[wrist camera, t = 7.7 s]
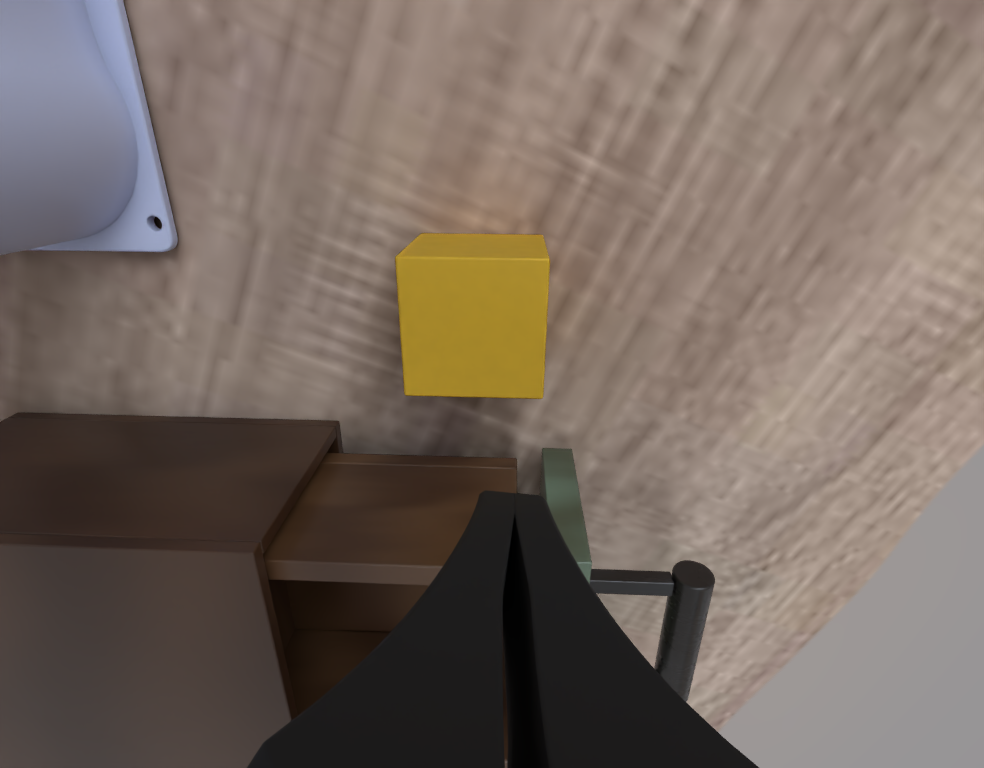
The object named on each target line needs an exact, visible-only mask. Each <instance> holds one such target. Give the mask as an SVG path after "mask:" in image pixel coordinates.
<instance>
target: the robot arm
mask: <svg viewBox="0 0 984 768" xmlns="http://www.w3.org/2000/svg"><path fill="white" fill-rule="evenodd" d="M155 216H156V217H158V218H159V219H160V221H161V223H162V228H161V229H159V228H158V227H157V226H156V225H155V223H154V218H155ZM177 243H178V237H177V232H176V228H175V224H174V219H173V215H172V211H171V206H170V202H169V197H168V193H167V189H166V184H165V180H164V176H163V171H162V167H161V163H160V158H159V154H158V149H157V145H156V141H155V136H154V132H153V128H152V123H151V119H150V115H149V110H148V106H147V102H146V97H145V93H144V88H143V84H142V80H141V75H140V71H139V67H138V62H137V58H136V54H135V49H134V45H133V40H132V36H131V32H130V27H129V23H128V19H127V14H126V10H125V6H124V1H123V0H0V255H5V254H9V253H14V252H19V251H24V250H49V251H122V252H165V251H169V250H172V249H174V248H175V247H176V245H177ZM502 629H503V644H502ZM503 645H504V664H505V682H506V701H507V719H508V758H507V768H759V767H758V766H756V765H755V764H754V763H753V762H752V761H750V760H749V759H748V758H747V757H746V756H744V755H743V754H742V753H741V752H740V751H738V750H737V749H736V748H735V747H733V746H732V745H731V744H730V743H729V742H728V741H727V740H726V739H724V738H723V737H722V736H721V735H720V734H719V733H718V732H717V731H716V730H715V729H714V728H713V727H712V726H710V725H709V724H708V723H707V722H706V721H705V720H704V719H703V718H702V717H701V716H700V715H699V714H698V713H697V712H696V711H694V710H693V709H692V708H691V707H690V706H689V705H688V704H687V703H686V702H685V701H684V700H683V699H682V697H681V696H680V695H679V694H678V693H677V692H676V691H675V690H674V689H673V688H672V687H671V686H670V685H669V684H668V683H667V682H666V681H665V680H664V678H663V677H662V676H661V675H660V674H659V673H658V672H657V671H656V670H655V669H654V668H653V667H652V666H651V665H650V663H649V662H648V661H647V660H646V659H645V658H644V656H643V655H642V654H641V653H640V652H639V650H638V649H637V648H636V647H635V646H634V644H633V643H632V642H631V641H630V640H629V638H628V637H627V636H626V634H625V633H624V632H623V631H622V629H621V628H620V627H619V626H618V624H617V623H616V622H615V620H614V619H613V617H612V616H611V615H610V613H609V612H608V611H607V609H606V608H605V606H604V605H603V603H602V602H601V601H600V599H599V597H598V596H597V594H596V593H595V591H594V590H593V588H592V587H591V585H590V584H589V582H588V581H587V579H586V577H585V576H584V574H583V573H582V571H581V569H580V568H579V566H578V564H577V562H576V561H575V559H574V557H573V555H572V554H571V552H570V550H569V548H568V546H567V545H566V543H565V541H564V539H563V537H562V535H561V533H560V531H559V529H558V527H557V525H556V523H555V520H554V518H553V516H552V514H551V511H550V509H549V506H548V504H547V501H546V500H545V499H544V497H543V496H540V495H529V494H519V493H509V492H499V491H488V490H485V491H483V492H482V493H480V494H479V498H478V502H477V504H476V507H475V510H474V512H473V515H472V517H471V519H470V521H469V523H468V525H467V527H466V529H465V531H464V533H463V534H462V536H461V538H460V540H459V541H458V543H457V545H456V546H455V548H454V550H453V552H452V553H451V555H450V556H449V558H448V559H447V561H446V562H445V564H444V565H443V567H442V568H441V570H440V571H439V573H438V574H437V576H436V577H435V578H434V580H433V581H432V583H431V584H430V585H429V587H428V588H427V589H426V591H425V592H424V593H423V595H422V596H421V597H420V598H419V600H418V601H417V602H416V603H415V605H414V606H413V607H412V608H411V609H410V611H409V612H408V613H407V614H406V615H405V617H404V618H403V619H402V620H401V621H400V622H399V623H398V624H397V625H396V626H395V628H394V629H393V630H392V631H391V632H390V633H389V634H388V635H387V636H386V637H385V638H384V639H383V641H382V642H381V643H380V644H379V645H378V646H377V647H376V648H375V649H374V650H373V651H372V652H371V653H370V654H369V655H368V656H367V657H366V658H365V659H363V660H362V661H361V662H360V663H359V664H358V665H357V666H356V667H355V668H353V669H352V670H351V671H350V672H349V673H348V674H347V675H346V676H345V677H344V678H342V679H341V680H340V681H339V682H338V683H337V684H336V685H335V686H334V687H333V688H331V689H330V690H329V691H328V692H327V693H326V694H324V695H323V696H322V697H321V698H320V699H319V700H317V701H316V702H315V703H314V704H312V705H311V706H310V707H308V708H307V709H306V710H304V711H303V712H302V713H301V714H299V715H298V716H297V717H295V718H294V719H293V720H292V721H290V722H289V723H288V724H286V725H285V726H284V727H283V728H281V729H280V730H279V731H277V732H276V733H275V734H274V735H272V736H271V737H270V738H268V739H267V740H266V741H265V742H263V744H262V745H261V747H260V748H259V750H258V751H257V753H256V754H255V756H254V757H253V759H252V761H251V762H250V764H249V765H248V767H247V768H505V758H504V726H503Z"/></svg>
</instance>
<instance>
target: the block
mask: <svg viewBox="0 0 984 768" xmlns="http://www.w3.org/2000/svg"><path fill="white" fill-rule="evenodd" d="M395 264H396V279H397V294H398V308H399V323H400V337H401V352H402V367H403V381H404V394H405V395H406V396H442V397H484V398H526V399H542V398H543V392H544V372H545V351H546V331H547V311H548V290H549V270H550V259H549V255H548V252H547V248H546V245H545V241H544V237H543V235H524V234H442V233H422V234H420V235H419V236H418V237H417V238H416V239H414V240H413V241H412V242H411V243H410V244H409V245H408V246H407V247H406V248H405V249H403V250H402V251H401V252H400V253H399V254H398V255H397V256H396V257H395Z"/></svg>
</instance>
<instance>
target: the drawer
mask: <svg viewBox="0 0 984 768" xmlns="http://www.w3.org/2000/svg"><path fill="white" fill-rule="evenodd" d="M485 490H488V491H499V492H509V493H517V459H515V458H488V457H453V456H417V455H381V454H346V453H326V454H325V456H324V457H323V459H322V461H321V462H320V464H319V466H318V467H317V469H316V470H315V472H314V474H313V475H312V477H311V478H310V480H309V482H308V483H307V485H306V486H305V488H304V490H303V491H302V493H301V494H300V496H299V498H298V499H297V501H296V502H295V504H294V506H293V507H292V509H291V511H290V512H289V514H288V515H287V517H286V519H285V520H284V522H283V523H282V525H281V527H280V528H279V530H278V531H277V533H276V535H275V536H274V538H273V539H272V541H271V543H270V544H269V546H268V547H267V549H266V551H265V552H264V553H263V558H264V562H265V567H266V571H267V576H268V581H269V585H270V590H271V594H272V599H273V604H274V608H275V613H276V617H277V622H278V627H279V631H280V636H281V640H282V645H283V650H284V654H285V659H286V663H287V668H288V673H289V677H290V682H291V686H292V691H293V696H294V700H295V705H296V709H297V714H298V715H299V714H301V713H302V712H303V711H304V710H306V709H307V708H308V707H310V706H311V705H312V704H314V703H315V702H316V701H317V700H319V699H320V698H321V697H322V696H323V695H324V694H326V693H327V692H328V691H329V690H330V689H331V688H333V687H334V686H335V685H336V684H337V683H338V682H339V681H340V680H341V679H342V678H344V677H345V676H346V675H347V674H348V673H349V672H350V671H351V670H352V669H353V668H355V667H356V666H357V665H358V664H359V663H360V662H361V661H362V660H363V659H365V658H366V657H367V656H368V655H369V654H370V653H371V652H372V651H373V650H374V649H375V648H376V647H377V646H378V645H379V644H380V643H381V642H382V641H383V639H384V638H385V637H386V636H387V635H388V634H389V633H390V632H391V631H392V630H393V629H394V628H395V626H396V625H397V624H398V623H399V622H400V621H401V620H402V619H403V618H404V617H405V615H406V614H407V613H408V612H409V611H410V609H411V608H412V607H413V606H414V605H415V603H416V602H417V601H418V600H419V598H420V597H421V596H422V595H423V593H424V592H425V591H426V589H427V588H428V587H429V585H430V584H431V583H432V581H433V580H434V578H435V577H436V576H437V574H438V573H439V571H440V570H441V568H442V567H443V565H444V564H445V562H446V561H447V559H448V558H449V556H450V555H451V553H452V552H453V550H454V548H455V546H456V545H457V543H458V541H459V540H460V538H461V536H462V534H463V533H464V531H465V529H466V527H467V525H468V523H469V521H470V519H471V517H472V515H473V512H474V510H475V507H476V504H477V502H478V498H479V494H480V493H482V492H483V491H485ZM540 496H543V497H544V499H545V500H546V501H547V504H548V506H549V509H550V511H551V514H552V516H553V518H554V520H555V523H556V525H557V527H558V529H559V531H560V533H561V535H562V537H563V539H564V541H565V543H566V545H567V546H568V548H569V550H570V552H571V554H572V555H573V557H574V559H575V561H576V562H577V564H578V566H579V568H580V569H581V571H582V573H583V574H584V576H585V577H586V579H587V581H588V582H589V584H590V585H591V587H592V588H593V590H594V591H595V593H603V594H629V595H656V596H668V597H667V602H666V608H665V613H664V619H663V624H662V629H661V635H660V640H659V645H658V651H657V656H656V662H655V667H654V669H655V670H656V671H657V672H658V673H659V674H660V675H661V676H662V677H663V678H664V680H665V681H666V682H667V683H668V684H669V685H670V686H671V687H672V688H673V689H674V690H675V691H676V692H677V693H678V694H679V695H680V696H681V697H682V699H683V700H684V701H685V702H686V701H687V700H688V696H689V692H690V688H691V683H692V679H693V675H694V670H695V666H696V662H697V657H698V653H699V649H700V644H701V640H702V635H703V631H704V627H705V622H706V618H707V614H708V609H709V605H710V601H711V596H712V592H713V588H714V583H715V578H714V575H713V573H712V572H711V571H710V569H708V568H707V567H706V566H704V565H703V564H701V563H698V562H695V561H689V560H685V561H680V562H678V563H677V564H676V565H675V566H674V567H673V570H672V575H671V573H670V572H662V571H634V570H606V569H591V566H592V561H591V556H590V550H589V545H588V539H587V533H586V528H585V522H584V516H583V511H582V505H581V499H580V494H579V488H578V482H577V477H576V471H575V465H574V460H573V454H572V449H555V448H543V449H542V461H541V481H540ZM502 644H503V629H502ZM503 726H504V758H505V768H507V758H508V719H507V701H506V682H505V664H504V645H503Z"/></svg>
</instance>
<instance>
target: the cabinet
mask: <svg viewBox="0 0 984 768" xmlns="http://www.w3.org/2000/svg"><path fill="white" fill-rule="evenodd" d="M326 453H343V449H342V441H341V433H340V425H339V421H321V420H282V419H243V418H204V417H165V416H126V415H88V414H49V413H16V414H14V415H12V416H10V417H9V418H7V419H5V420H3V421H1V422H0V768H247V767H248V765H249V764H250V762H251V761H252V759H253V757H254V756H255V754H256V753H257V751H258V750H259V748H260V747H261V745H262V744H263V742H265V741H266V740H267V739H268V738H270V737H271V736H272V735H274V734H275V733H276V732H277V731H279V730H280V729H281V728H283V727H284V726H285V725H286V724H288V723H289V722H290V721H292V720H293V719H294V718H295V717H297V716H298V714H297V709H296V705H295V700H294V696H293V691H292V686H291V682H290V677H289V673H288V668H287V663H286V659H285V654H284V650H283V645H282V640H281V636H280V631H279V627H278V622H277V617H276V613H275V608H274V604H273V599H272V594H271V590H270V585H269V581H268V576H267V571H266V567H265V562H264V558H263V553H264V552H265V551H266V549H267V547H268V546H269V544H270V543H271V541H272V539H273V538H274V536H275V535H276V533H277V531H278V530H279V528H280V527H281V525H282V523H283V522H284V520H285V519H286V517H287V515H288V514H289V512H290V511H291V509H292V507H293V506H294V504H295V502H296V501H297V499H298V498H299V496H300V494H301V493H302V491H303V490H304V488H305V486H306V485H307V483H308V482H309V480H310V478H311V477H312V475H313V474H314V472H315V470H316V469H317V467H318V466H319V464H320V462H321V461H322V459H323V457H324V456H325V454H326Z"/></svg>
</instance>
